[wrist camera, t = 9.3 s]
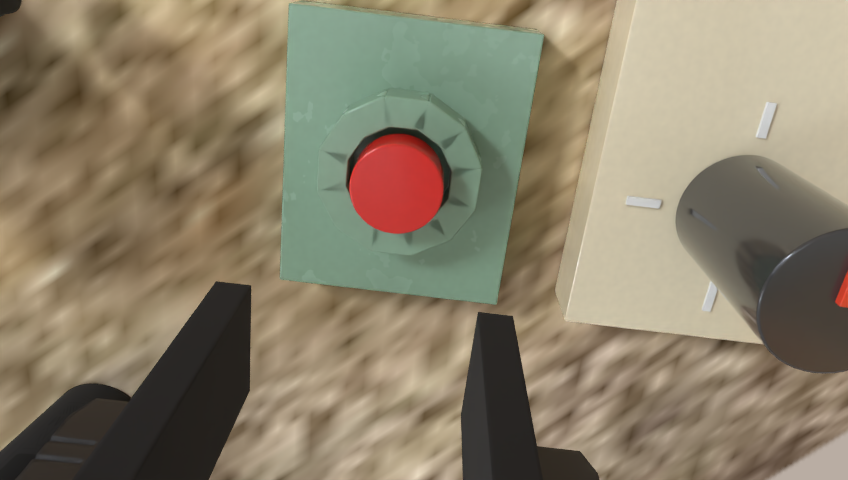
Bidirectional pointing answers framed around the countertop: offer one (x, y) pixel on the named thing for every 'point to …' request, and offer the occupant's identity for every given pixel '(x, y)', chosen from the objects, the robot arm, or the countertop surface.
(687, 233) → the hob knob
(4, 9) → the milk frother
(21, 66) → the countertop surface
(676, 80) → the hob console
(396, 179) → the button
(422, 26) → the red push button panel
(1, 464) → the drinking cup
